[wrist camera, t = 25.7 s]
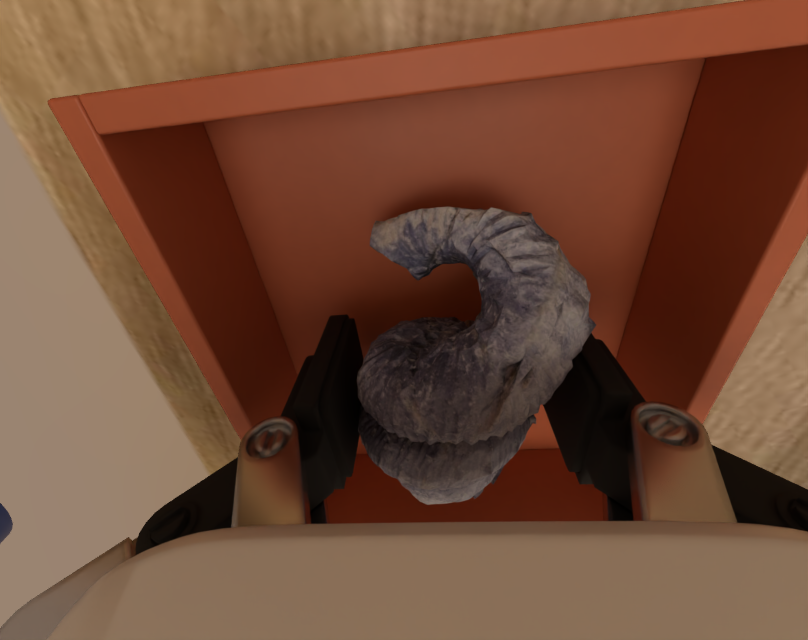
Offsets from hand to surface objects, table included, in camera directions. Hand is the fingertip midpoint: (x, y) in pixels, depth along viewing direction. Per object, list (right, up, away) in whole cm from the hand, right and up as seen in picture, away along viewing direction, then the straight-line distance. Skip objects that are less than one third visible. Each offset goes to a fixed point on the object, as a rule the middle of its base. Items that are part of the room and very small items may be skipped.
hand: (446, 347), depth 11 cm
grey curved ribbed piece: (0, 0, +1) cm, 1 cm away
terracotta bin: (0, +1, +1) cm, 2 cm away
